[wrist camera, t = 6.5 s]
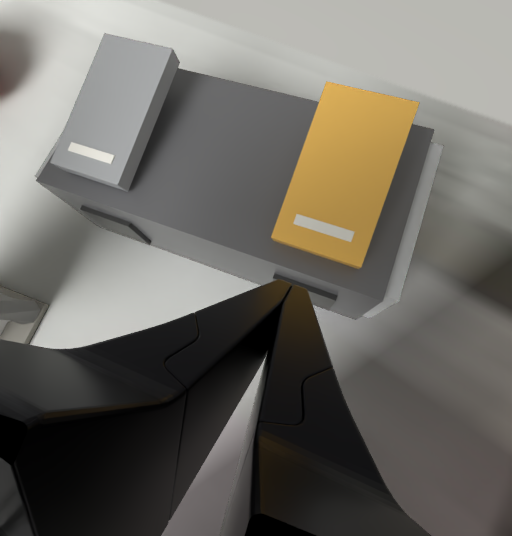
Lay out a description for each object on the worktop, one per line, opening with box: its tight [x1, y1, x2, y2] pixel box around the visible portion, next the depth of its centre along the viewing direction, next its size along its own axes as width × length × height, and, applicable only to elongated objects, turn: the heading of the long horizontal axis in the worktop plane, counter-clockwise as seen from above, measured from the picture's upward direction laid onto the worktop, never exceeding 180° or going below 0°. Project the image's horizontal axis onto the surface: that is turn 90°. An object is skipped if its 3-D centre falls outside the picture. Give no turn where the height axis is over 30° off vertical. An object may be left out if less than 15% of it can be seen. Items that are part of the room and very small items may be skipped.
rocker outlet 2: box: [271, 82, 420, 269], centre depth 16 cm, size 8×4×1 cm, turn 159°
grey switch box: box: [35, 68, 444, 320], centre depth 21 cm, size 10×22×6 cm, turn 68°
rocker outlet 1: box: [50, 33, 180, 192], centre depth 18 cm, size 8×4×1 cm, turn 159°
